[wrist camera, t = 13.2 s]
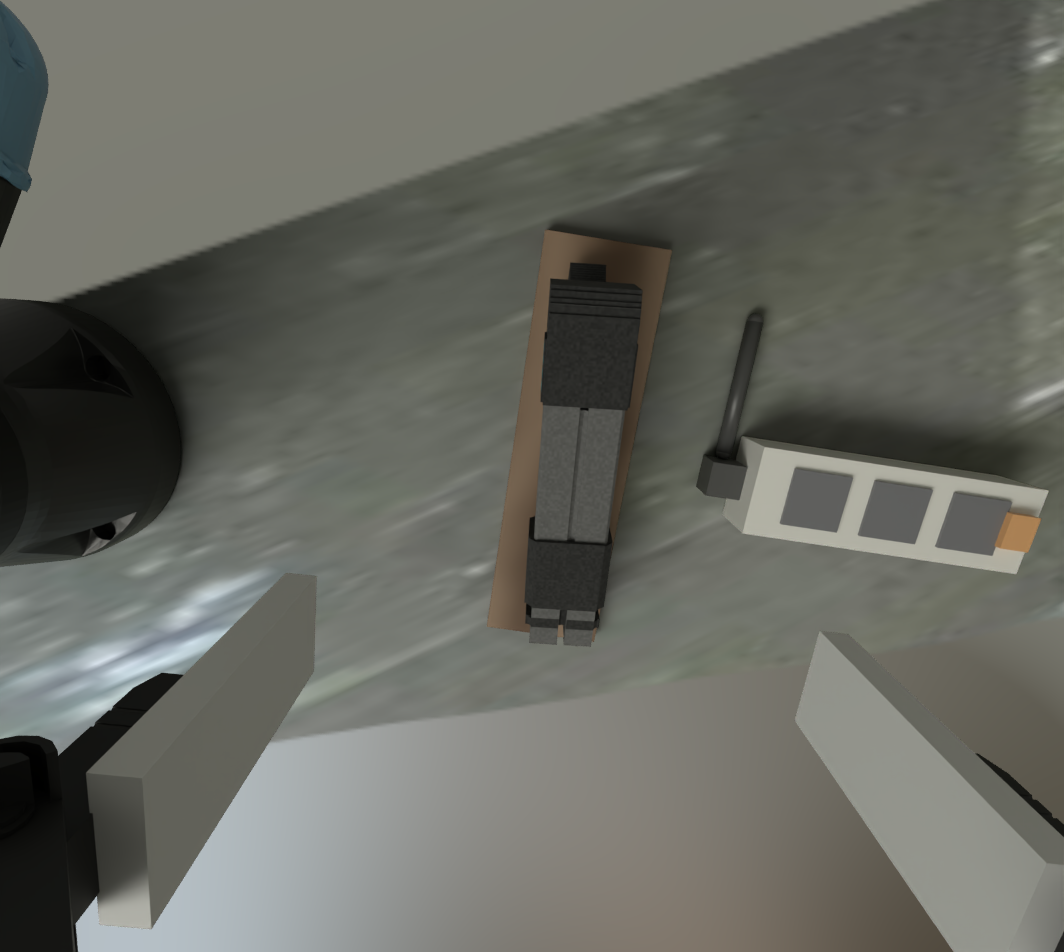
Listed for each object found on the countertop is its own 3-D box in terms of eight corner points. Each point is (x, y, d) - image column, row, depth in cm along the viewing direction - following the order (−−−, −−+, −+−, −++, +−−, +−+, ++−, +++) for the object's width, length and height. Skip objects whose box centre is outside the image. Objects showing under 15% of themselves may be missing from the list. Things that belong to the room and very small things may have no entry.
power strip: (690, 509, 35) (710, 531, 31) (736, 310, 32) (765, 307, 28) (970, 551, 35) (1025, 578, 31) (1039, 359, 32) (1110, 363, 29)
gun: (629, 255, 30) (659, 313, 22) (588, 539, 41) (598, 649, 33) (546, 250, 30) (544, 305, 22) (527, 535, 41) (521, 645, 33)
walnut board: (487, 620, 37) (486, 626, 36) (544, 232, 31) (545, 229, 30) (592, 635, 37) (593, 641, 36) (668, 252, 31) (672, 250, 30)
